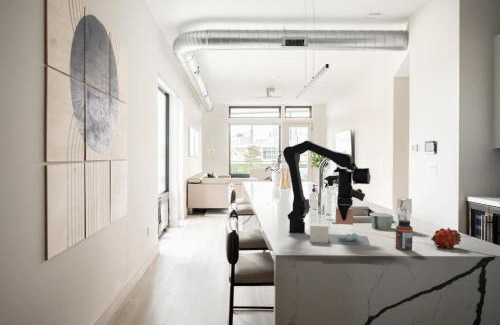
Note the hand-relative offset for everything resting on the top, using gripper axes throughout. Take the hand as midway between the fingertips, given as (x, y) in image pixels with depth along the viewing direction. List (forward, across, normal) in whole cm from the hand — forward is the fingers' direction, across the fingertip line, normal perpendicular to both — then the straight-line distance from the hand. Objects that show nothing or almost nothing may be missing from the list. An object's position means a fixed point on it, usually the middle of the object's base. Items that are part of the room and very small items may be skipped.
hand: (343, 219), depth 178 cm
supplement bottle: (+8, -17, -22) cm, 29 cm away
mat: (+8, -6, +2) cm, 10 cm away
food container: (+8, +34, -19) cm, 40 cm away
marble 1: (+8, -9, -2) cm, 12 cm away
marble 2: (+8, -7, -4) cm, 11 cm away
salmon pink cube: (+2, 0, 0) cm, 2 cm away
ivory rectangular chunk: (+8, -11, +10) cm, 17 cm away
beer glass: (+8, +30, -29) cm, 43 cm away
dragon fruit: (+8, -8, -39) cm, 41 cm away
